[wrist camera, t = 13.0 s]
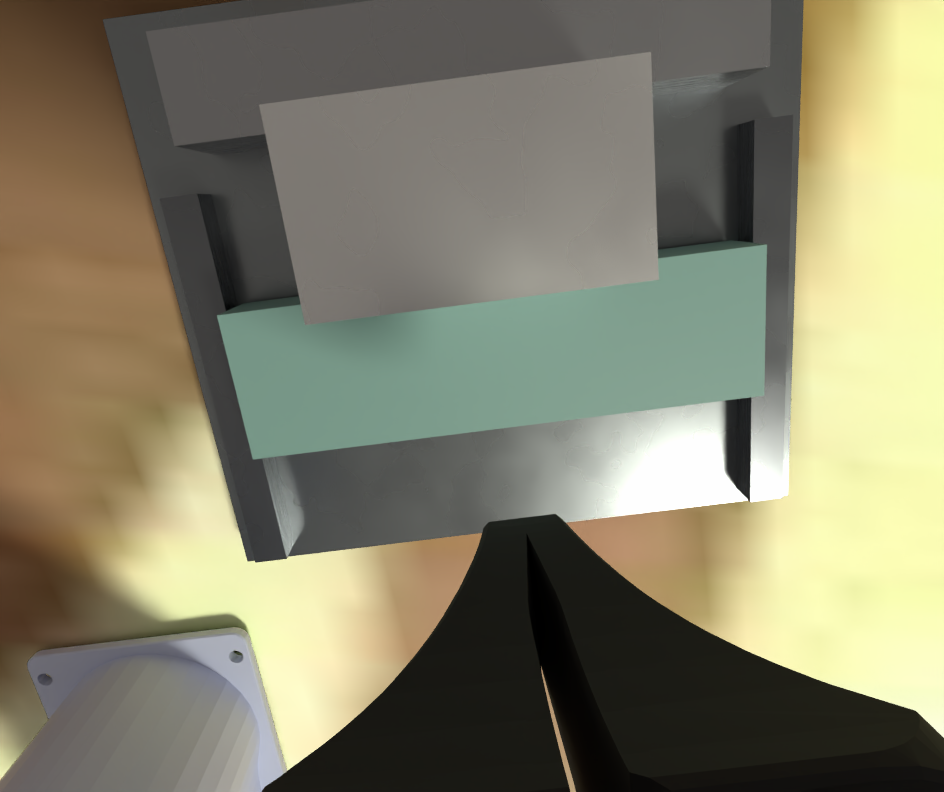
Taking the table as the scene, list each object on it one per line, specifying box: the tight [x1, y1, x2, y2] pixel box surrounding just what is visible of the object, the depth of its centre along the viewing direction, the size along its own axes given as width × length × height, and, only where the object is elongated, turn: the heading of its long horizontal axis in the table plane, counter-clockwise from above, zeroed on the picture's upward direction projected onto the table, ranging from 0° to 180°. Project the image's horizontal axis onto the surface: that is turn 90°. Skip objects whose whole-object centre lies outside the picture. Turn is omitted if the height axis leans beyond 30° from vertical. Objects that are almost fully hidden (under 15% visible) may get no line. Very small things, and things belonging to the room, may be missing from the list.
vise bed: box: [103, 0, 803, 562], centre depth 17 cm, size 16×18×3 cm
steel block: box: [259, 52, 659, 325], centre depth 14 cm, size 4×7×6 cm, turn 97°
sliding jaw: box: [217, 240, 767, 459], centre depth 17 cm, size 4×14×2 cm, turn 97°
